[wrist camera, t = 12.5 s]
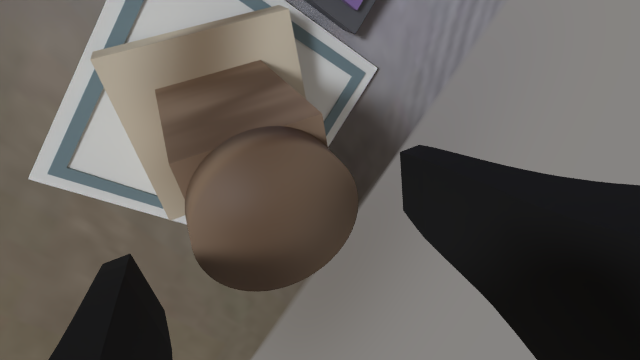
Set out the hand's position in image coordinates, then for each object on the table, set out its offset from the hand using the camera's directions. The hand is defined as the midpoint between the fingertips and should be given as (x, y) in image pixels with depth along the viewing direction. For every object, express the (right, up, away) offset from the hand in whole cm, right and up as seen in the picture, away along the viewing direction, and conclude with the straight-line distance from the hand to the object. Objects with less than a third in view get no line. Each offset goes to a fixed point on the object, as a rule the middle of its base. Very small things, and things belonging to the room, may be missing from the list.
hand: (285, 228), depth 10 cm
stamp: (-3, +4, +7) cm, 9 cm away
